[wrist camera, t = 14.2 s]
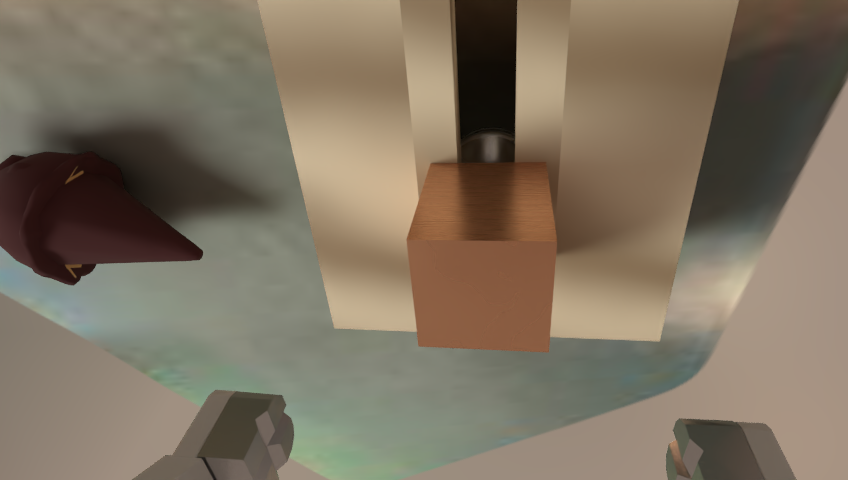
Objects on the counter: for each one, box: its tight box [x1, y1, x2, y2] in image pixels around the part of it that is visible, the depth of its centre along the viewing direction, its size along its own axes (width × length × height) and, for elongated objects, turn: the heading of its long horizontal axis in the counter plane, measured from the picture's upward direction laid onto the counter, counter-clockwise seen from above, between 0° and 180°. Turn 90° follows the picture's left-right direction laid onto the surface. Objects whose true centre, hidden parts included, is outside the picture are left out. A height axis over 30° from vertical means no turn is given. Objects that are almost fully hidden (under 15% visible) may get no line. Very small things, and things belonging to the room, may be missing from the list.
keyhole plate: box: [257, 0, 739, 341], centre depth 19 cm, size 24×14×8 cm, turn 5°
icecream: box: [0, 152, 203, 285], centre depth 27 cm, size 7×7×15 cm
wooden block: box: [406, 127, 557, 352], centre depth 18 cm, size 4×4×9 cm
